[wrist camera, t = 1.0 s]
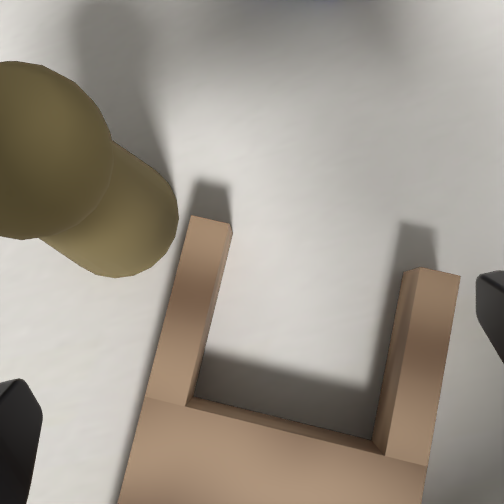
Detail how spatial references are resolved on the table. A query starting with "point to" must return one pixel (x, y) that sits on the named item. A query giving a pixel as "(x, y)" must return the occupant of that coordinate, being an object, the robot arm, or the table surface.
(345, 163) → the table surface
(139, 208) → the cork
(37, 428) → the robot arm
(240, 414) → the notched board
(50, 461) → the table surface
